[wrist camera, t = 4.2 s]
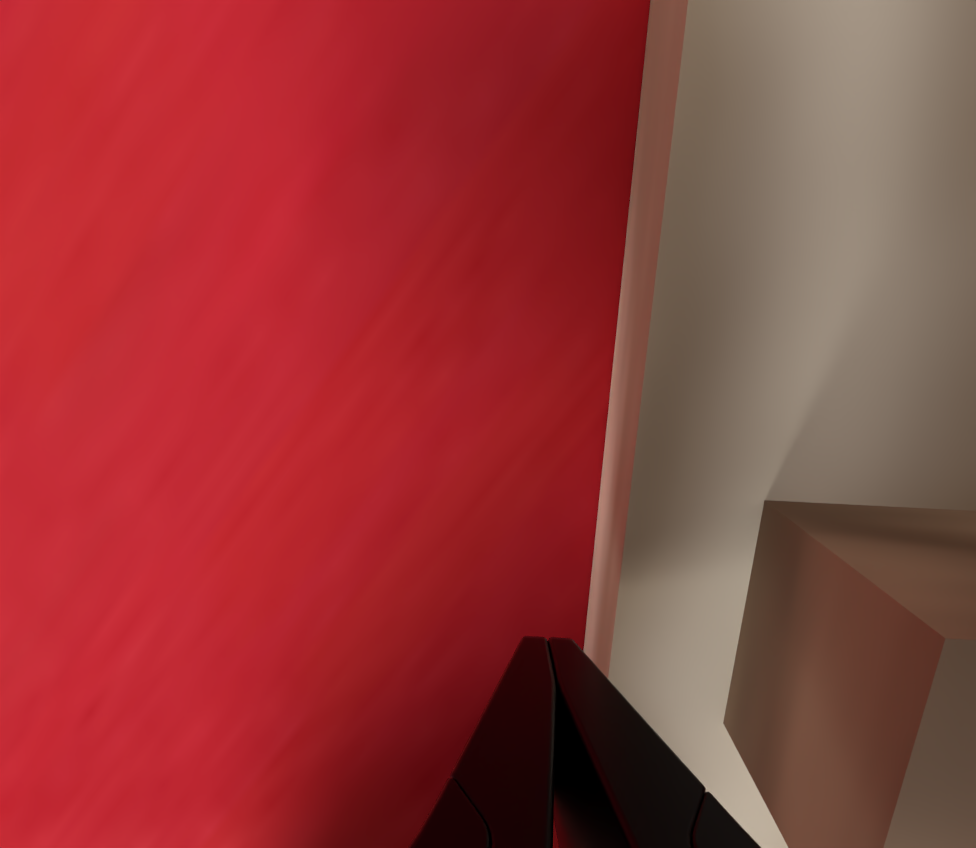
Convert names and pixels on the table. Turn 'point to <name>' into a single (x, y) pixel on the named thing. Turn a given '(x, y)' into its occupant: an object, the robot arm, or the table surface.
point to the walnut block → (860, 675)
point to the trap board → (779, 324)
